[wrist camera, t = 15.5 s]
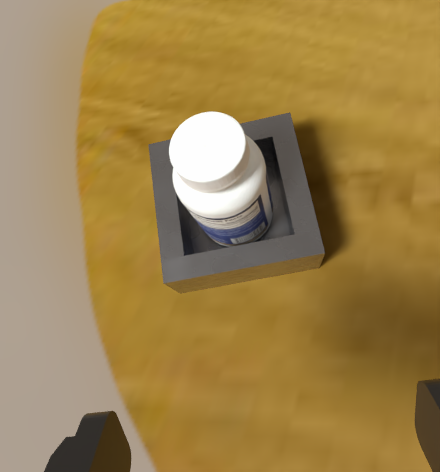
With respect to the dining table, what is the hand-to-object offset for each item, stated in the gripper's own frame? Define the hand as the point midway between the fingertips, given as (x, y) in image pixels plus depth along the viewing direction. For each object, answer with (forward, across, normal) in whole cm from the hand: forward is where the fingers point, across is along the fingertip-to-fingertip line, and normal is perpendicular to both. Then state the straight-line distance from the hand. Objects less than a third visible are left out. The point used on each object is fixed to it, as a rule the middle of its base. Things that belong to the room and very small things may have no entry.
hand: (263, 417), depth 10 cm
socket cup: (+20, +1, +3) cm, 20 cm away
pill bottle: (+19, +1, +2) cm, 19 cm away
